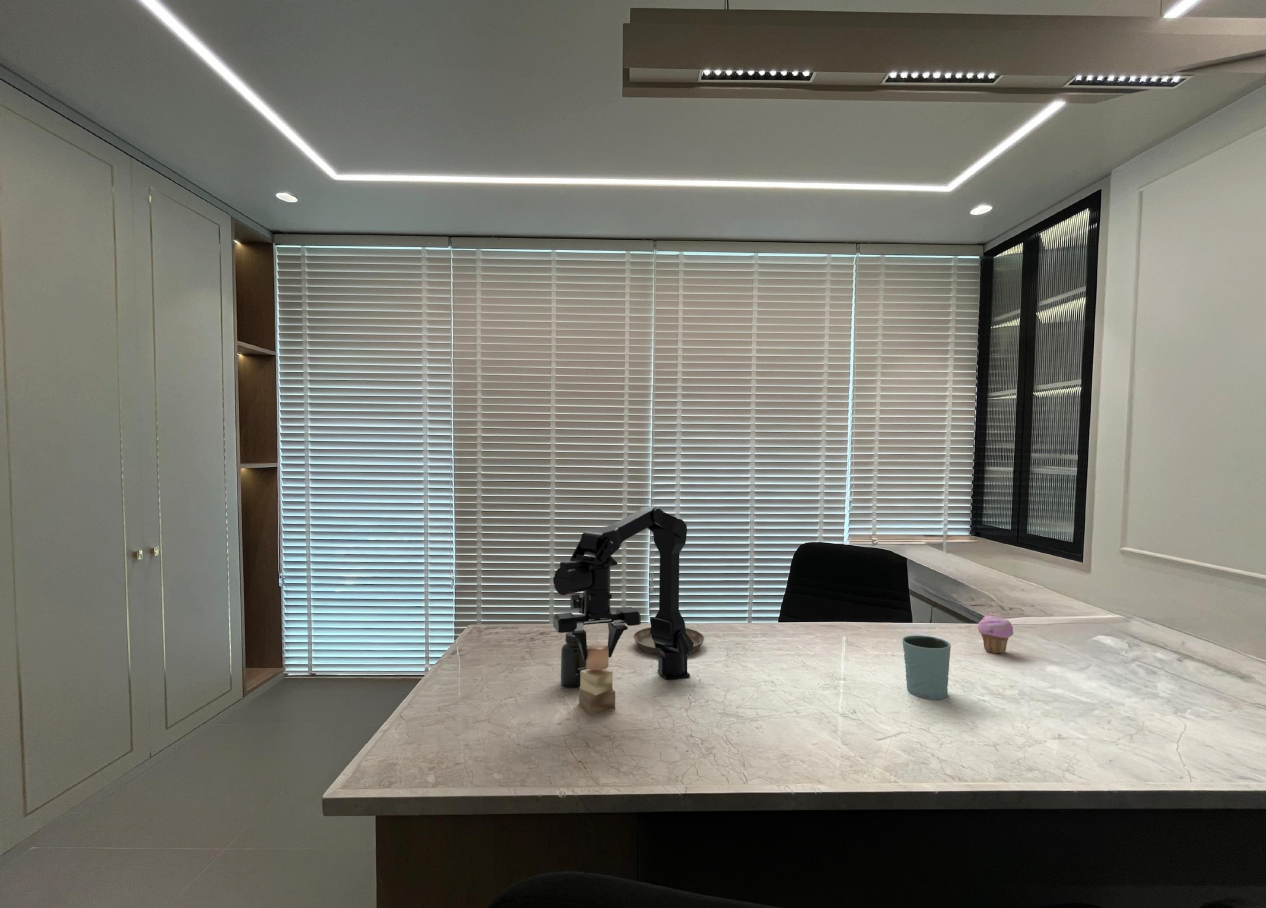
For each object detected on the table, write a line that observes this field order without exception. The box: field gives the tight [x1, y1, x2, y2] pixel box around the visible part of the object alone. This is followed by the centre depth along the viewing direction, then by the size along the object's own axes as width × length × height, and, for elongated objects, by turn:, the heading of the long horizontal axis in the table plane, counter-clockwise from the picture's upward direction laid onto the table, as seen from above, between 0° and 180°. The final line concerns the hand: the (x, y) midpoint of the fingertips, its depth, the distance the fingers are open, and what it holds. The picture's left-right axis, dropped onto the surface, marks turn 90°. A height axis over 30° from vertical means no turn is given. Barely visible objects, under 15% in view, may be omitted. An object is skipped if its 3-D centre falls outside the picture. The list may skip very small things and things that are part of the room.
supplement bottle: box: [560, 632, 589, 689], centre depth 144 cm, size 7×7×12 cm
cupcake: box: [977, 615, 1014, 654], centre depth 169 cm, size 9×9×10 cm
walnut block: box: [578, 687, 616, 715], centre depth 130 cm, size 6×6×4 cm
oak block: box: [580, 668, 614, 696], centre depth 130 cm, size 5×5×4 cm
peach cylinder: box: [586, 643, 610, 670], centre depth 130 cm, size 5×5×4 cm
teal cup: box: [901, 634, 952, 701], centre depth 139 cm, size 10×10×12 cm
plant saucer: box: [633, 626, 705, 656], centre depth 172 cm, size 21×21×3 cm
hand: (597, 658), depth 130 cm, fingers open, 5 cm apart
